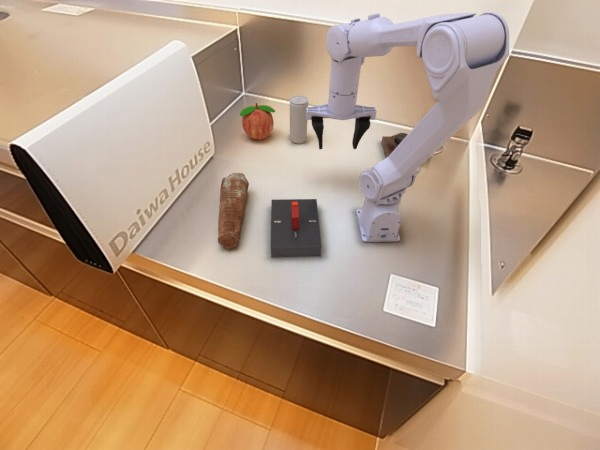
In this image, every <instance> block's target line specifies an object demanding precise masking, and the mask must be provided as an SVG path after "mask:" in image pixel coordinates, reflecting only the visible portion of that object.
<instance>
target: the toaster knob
mask: <svg viewBox="0 0 600 450" xmlns="http://www.w3.org/2000/svg"><path fill="white" fill-rule="evenodd" d="M291 215H292V229H299V206H298V202H291Z"/></svg>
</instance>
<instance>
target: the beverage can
mask: <svg viewBox="0 0 600 450" xmlns="http://www.w3.org/2000/svg"><path fill="white" fill-rule="evenodd" d="M306 107H309V99H308V97H307V96H304V95H299V94H298V95H292V96H291V97H290V99H289V140H290V141H291V142H292V143H294V144H304V143H305V142H307V139H308V120H307V119H306Z"/></svg>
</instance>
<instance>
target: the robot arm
mask: <svg viewBox="0 0 600 450" xmlns="http://www.w3.org/2000/svg"><path fill="white" fill-rule="evenodd" d="M325 44H326V50H327V53H328V55H329V57H330V58H331V60H330V73H329V86H328V87H329V88H328V99H327V100H328V101H327V103H326V104H321V105H314V106H308V107H306V119H307V121H311V126H312V129H313V131H314V133H315V135H316V139H317V142H318V149H319V150H323V147H324V143H323V135H324V129H325V125H324V119H331V120H339V121H346V120H347V121H348V120H353V119H355V122H354V131H353V136H352V142H351V145H352V149H353V150H357V148H358V146H359V143H360V141H361V139H362V138H363V136H364V135H365V134H366V132H367V131H368V130H369V129H370V127H371V121H376V118H377V109H376V107H375V106H365V105H360V104H357V98H358V91H359V86H360V85H359V83H360V76H361V69H362V66H363V65H364V63H365V59H366V58H374V57H384V56H387V55H388V54H389V53H391V51H392V50H393V48H395V47H397V48H398V47H416V57H417V58H419V59H422V64H423V67H424V71H425V73H426V76H427V80H428V82H429V83H428V84H429V86H430V89H431V93H432V96H433V98H434V99H435V100H437V101H436V102H435V103H434V104H433V106H432V107H430V108H429V110H428V111H427V112H426V113H425V114H424V116H423V117H422V118H421V119H420V120H419V121H418V122H417V123H416V124H415V126H414V127H413V128H412V129H411V130H410V131H409V132H408V133H407V134H408V135H407V136H406V137H405V138H404V139H403V141H402V142H401V143H400V144H399V145H398V146H397V147H396V148H395V150H394V151H393V152H392V153H391V154H390V155H389V156H388V157H387V158H386V157H385V158H383V159H382V160H380V161H379V162H377V163H375V164H374V165H372V166H371V168H370V169H364V170H362V171H361V172H360V175H359V179H358V184H359V189H360V191H361V193H362V195H363V196H364V199H363V203H362V204H363V205H362V208H361V209H360V208H357V209H356V211H355V213H356V218H357V222H358V227H359V232H360V236H361V241H362V242H364V243H374V242H375V243H378V242H379V243H380V242H383V243H384V242H386V243H387V242H400V241H401V237H400V234H399V230H400V227H401V225H402V216H401V212H400V205H401V201H402V198H403V195H404V194H405V193H406V191H407V188H411V187H412V186H413V185H414V184H415V182H416V178H417V176H418V174H419V173H421V171H422V170H421V166H422V165H423V164H424V163H425V162H426V161H428V159H429V158H431V157H432V156H433V155H434V154H435V153H436V152H437V151H438V150H440V149H441V147H442V146H444V144H446V143H447V142H448V141H450V139H451V138H452V137H453V136H454V135H455V134H457V133H458V132H459V131H460V130H461V129H462V128H463V127H464V126H465V125H466V124H467V123H469V122H470V121H471V120H472V119H473V118H474V117H475V116H476V115H477V114H478V113H480V111H481V110H482V108H483V107H484V105H485V103H486V100H487V97H488V95H489V92H490V90H491V88H492V84H493V83H494V80H495V77H496V74H497V72H498V70H499V69H500V67H501V66H502V65H503V64H504V62H505V61H506V60H507V59H508V57H509V56H510V30H509V25H508V23H507V21H506V19H505V18H504V17H503V16H502V15H501V14H499V13H498V12H494V11H489V12H487V11H486V12H483V13H481V14H479V15H477V13H476V12H461V13H460V12H459V13H443V14H436V15H431V16H426V17H421V18H417V19H413V20H407V21H403V22H398V23H397V22H396V23H394V22H393V21H392V20H391V19H390V18H388V17H386V16H381V13H379V12H377V13H373V14H368V15H367V18H366V19H363V20H361V18H353V19H351V20H350V22H348V23H342V24H334V25H333V26H331V27H329V29H328V30H327V33H326V37H325Z"/></svg>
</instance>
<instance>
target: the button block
mask: <svg viewBox="0 0 600 450" xmlns="http://www.w3.org/2000/svg"><path fill="white" fill-rule="evenodd" d="M397 134H398V133H396V134H393V135H390V136H385V135H383V136H381V143H380V144H381V147H382V151H383V153H384V155H385V156H384V157H385V158H387V157H388V156H389V155H390V154H391V153H392V152H393V151H394V150H395V148H396V147H397V146H398V145H399V144H397V143H396V142H395V140H396V136H397Z"/></svg>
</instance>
